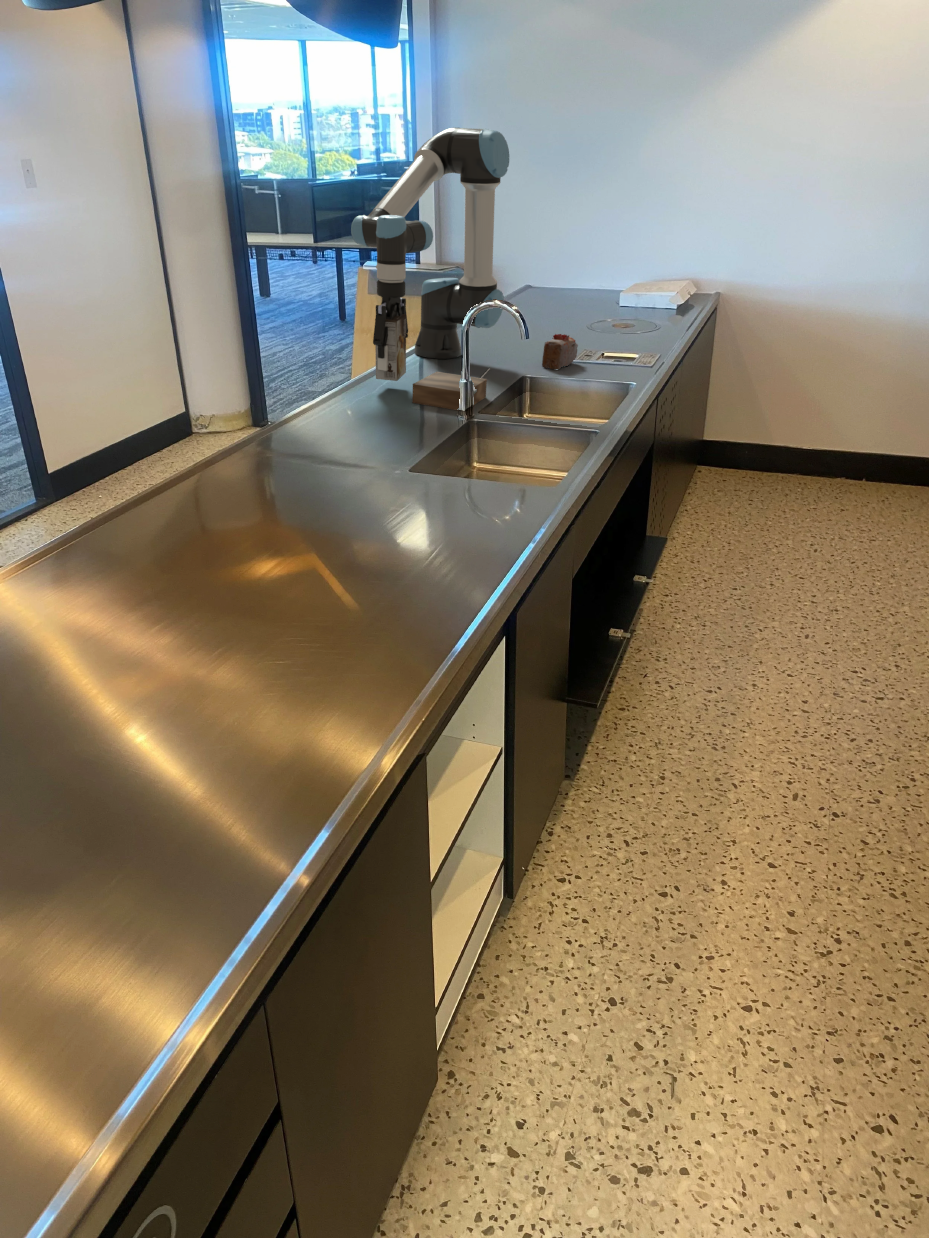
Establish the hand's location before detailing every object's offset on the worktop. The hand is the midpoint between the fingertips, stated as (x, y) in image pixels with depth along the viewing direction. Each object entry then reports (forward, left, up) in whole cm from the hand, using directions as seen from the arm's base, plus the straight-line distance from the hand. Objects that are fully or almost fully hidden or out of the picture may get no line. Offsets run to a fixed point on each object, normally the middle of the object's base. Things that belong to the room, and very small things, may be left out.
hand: (391, 365), depth 244 cm
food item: (-55, +33, -7) cm, 65 cm away
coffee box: (0, 0, -3) cm, 3 cm away
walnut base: (+1, +18, -6) cm, 20 cm away
